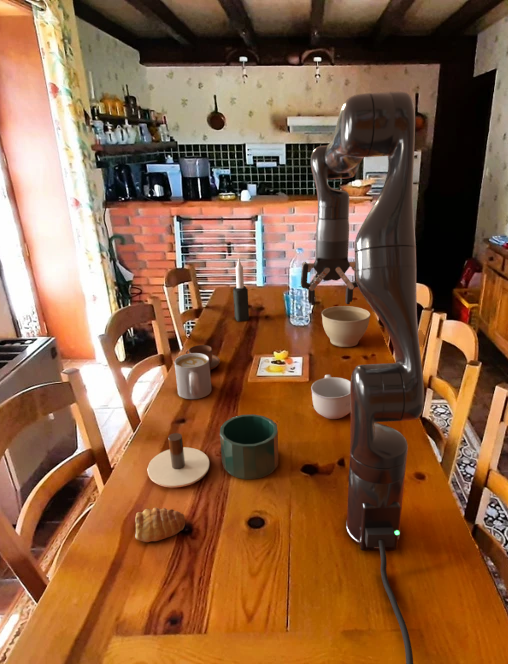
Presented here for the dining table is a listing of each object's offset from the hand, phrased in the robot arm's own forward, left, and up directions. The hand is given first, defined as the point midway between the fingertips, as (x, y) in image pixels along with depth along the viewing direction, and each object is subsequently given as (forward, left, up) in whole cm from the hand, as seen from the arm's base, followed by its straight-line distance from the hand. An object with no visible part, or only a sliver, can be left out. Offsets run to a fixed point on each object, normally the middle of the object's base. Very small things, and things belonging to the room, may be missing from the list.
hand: (330, 303), depth 119 cm
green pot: (-23, +21, -29) cm, 43 cm away
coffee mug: (+10, +37, -29) cm, 48 cm away
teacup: (-2, -1, -29) cm, 29 cm away
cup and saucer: (+28, +36, -29) cm, 54 cm away
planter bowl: (+43, -13, -29) cm, 54 cm away
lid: (-25, +37, -28) cm, 53 cm away
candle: (+72, +23, -29) cm, 81 cm away
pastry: (-43, +39, -29) cm, 65 cm away
